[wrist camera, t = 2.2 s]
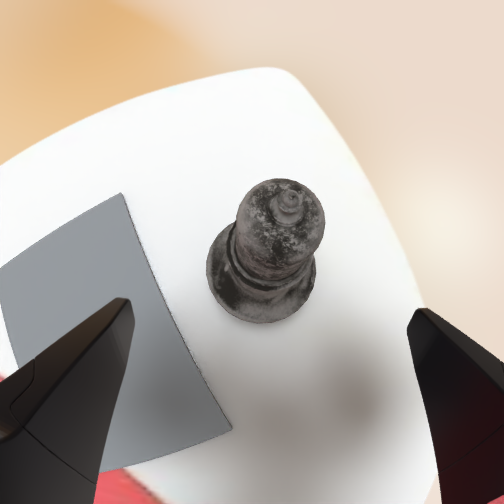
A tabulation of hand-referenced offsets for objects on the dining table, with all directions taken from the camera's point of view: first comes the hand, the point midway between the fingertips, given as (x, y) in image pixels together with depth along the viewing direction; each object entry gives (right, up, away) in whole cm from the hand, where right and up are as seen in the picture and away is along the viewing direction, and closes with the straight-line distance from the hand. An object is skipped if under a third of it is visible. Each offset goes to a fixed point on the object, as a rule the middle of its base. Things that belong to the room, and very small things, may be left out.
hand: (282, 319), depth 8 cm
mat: (-12, -5, +8) cm, 16 cm away
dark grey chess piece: (-1, 0, +11) cm, 11 cm away
